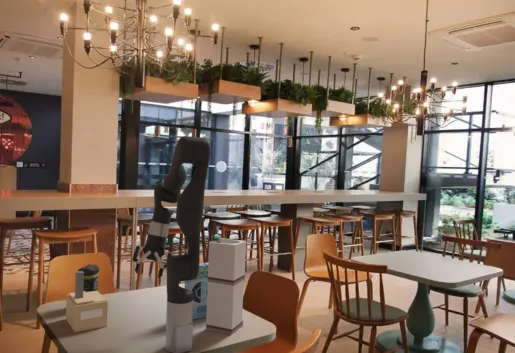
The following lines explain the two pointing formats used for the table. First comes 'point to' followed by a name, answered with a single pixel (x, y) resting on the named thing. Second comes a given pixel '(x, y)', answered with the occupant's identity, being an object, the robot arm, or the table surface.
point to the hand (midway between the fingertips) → (148, 275)
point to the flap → (80, 290)
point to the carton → (87, 313)
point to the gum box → (199, 291)
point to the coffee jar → (90, 277)
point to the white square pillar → (225, 285)
